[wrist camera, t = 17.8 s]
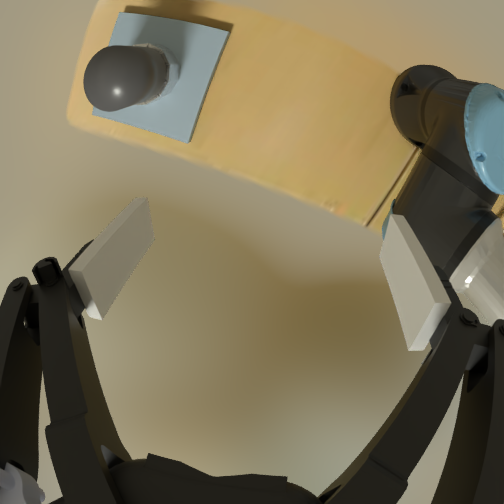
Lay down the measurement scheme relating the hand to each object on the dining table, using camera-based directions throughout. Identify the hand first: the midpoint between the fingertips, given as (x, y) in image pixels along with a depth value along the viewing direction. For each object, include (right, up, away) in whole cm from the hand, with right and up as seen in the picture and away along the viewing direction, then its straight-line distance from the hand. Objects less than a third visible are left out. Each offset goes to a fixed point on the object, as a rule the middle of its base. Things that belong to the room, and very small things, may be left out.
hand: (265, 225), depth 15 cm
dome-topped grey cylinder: (-17, +27, +23) cm, 40 cm away
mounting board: (-17, +28, +25) cm, 41 cm away
